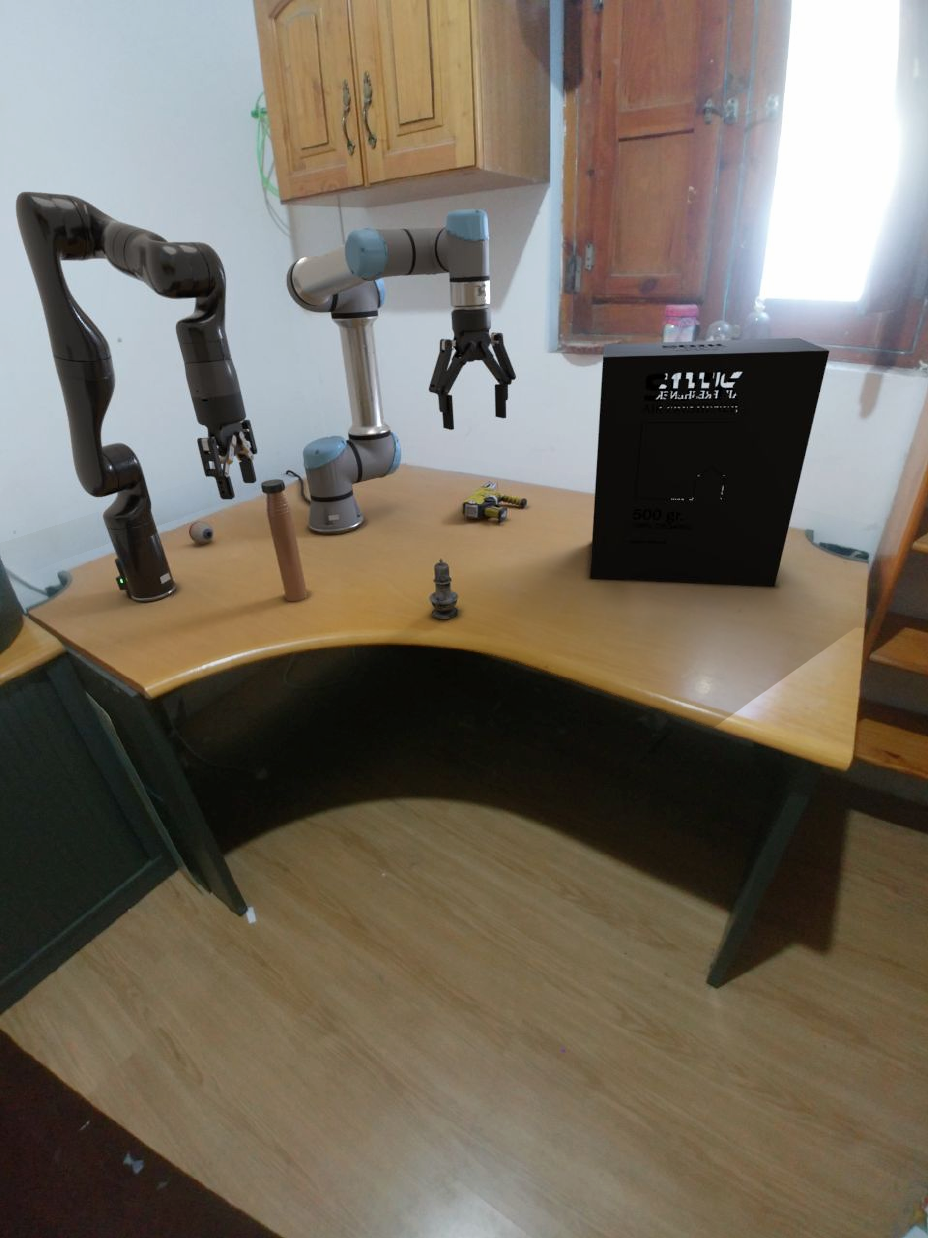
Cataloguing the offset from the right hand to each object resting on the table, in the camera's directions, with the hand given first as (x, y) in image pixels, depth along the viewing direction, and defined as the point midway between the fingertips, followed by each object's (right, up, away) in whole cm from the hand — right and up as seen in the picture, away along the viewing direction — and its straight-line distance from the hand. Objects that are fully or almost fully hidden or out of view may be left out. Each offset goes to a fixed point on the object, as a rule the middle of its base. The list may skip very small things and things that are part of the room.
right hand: (475, 422), depth 125 cm
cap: (-40, -14, -5) cm, 43 cm away
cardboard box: (+46, -28, +12) cm, 55 cm away
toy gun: (+8, -9, +49) cm, 51 cm away
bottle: (-39, -36, +8) cm, 54 cm away
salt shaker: (-6, -40, -2) cm, 40 cm away
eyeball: (-72, -20, +38) cm, 84 cm away
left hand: (-41, -19, -22) cm, 50 cm away
